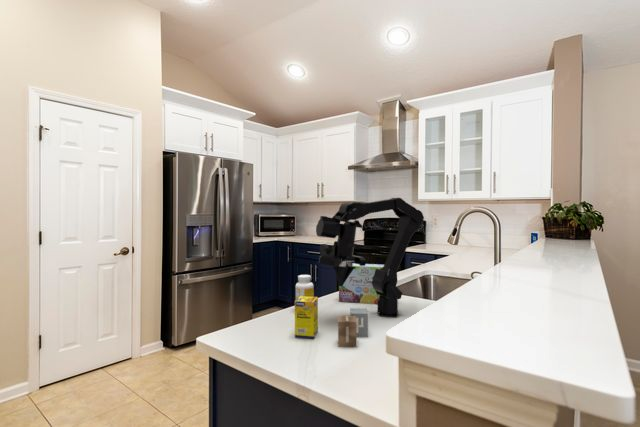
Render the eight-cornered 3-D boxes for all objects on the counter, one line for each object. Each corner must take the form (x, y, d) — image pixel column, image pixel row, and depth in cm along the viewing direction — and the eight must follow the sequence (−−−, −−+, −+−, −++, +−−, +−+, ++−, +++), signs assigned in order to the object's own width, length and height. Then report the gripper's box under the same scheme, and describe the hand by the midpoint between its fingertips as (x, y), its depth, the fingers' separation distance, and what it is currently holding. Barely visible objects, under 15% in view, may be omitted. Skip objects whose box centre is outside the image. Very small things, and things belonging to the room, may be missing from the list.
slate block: (366, 330, 107) (366, 308, 107) (368, 337, 102) (367, 313, 102) (350, 330, 108) (350, 308, 107) (350, 337, 102) (350, 313, 102)
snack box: (338, 302, 138) (338, 264, 138) (340, 298, 144) (340, 262, 143) (392, 305, 133) (392, 266, 133) (393, 301, 139) (393, 264, 138)
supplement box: (314, 339, 101) (314, 302, 100) (294, 337, 102) (294, 301, 102) (318, 331, 107) (318, 296, 106) (299, 330, 108) (299, 295, 108)
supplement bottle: (316, 308, 130) (316, 274, 129) (310, 314, 123) (309, 278, 123) (299, 307, 132) (299, 273, 131) (292, 312, 126) (292, 277, 125)
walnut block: (355, 340, 100) (355, 315, 100) (356, 347, 95) (356, 321, 95) (338, 339, 100) (338, 315, 100) (338, 347, 95) (338, 321, 95)
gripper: (343, 238, 128) (338, 280, 128) (309, 235, 114) (303, 282, 114) (369, 242, 121) (363, 286, 121) (336, 239, 107) (329, 290, 107)
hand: (340, 286), depth 116 cm, fingers closed
